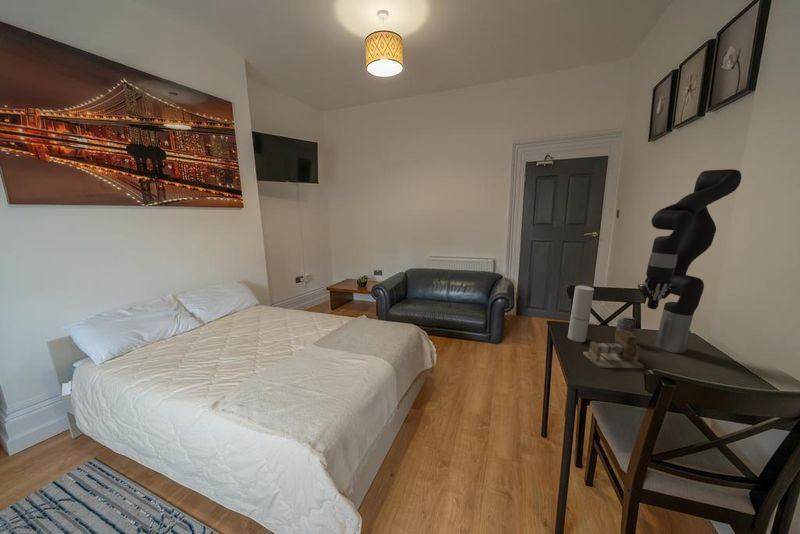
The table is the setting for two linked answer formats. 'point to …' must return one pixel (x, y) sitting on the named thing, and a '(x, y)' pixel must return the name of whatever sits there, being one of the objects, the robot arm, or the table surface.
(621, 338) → the brown rectangular block
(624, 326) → the beverage can
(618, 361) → the pipe rack
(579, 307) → the cylindrical container
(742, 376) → the table surface
